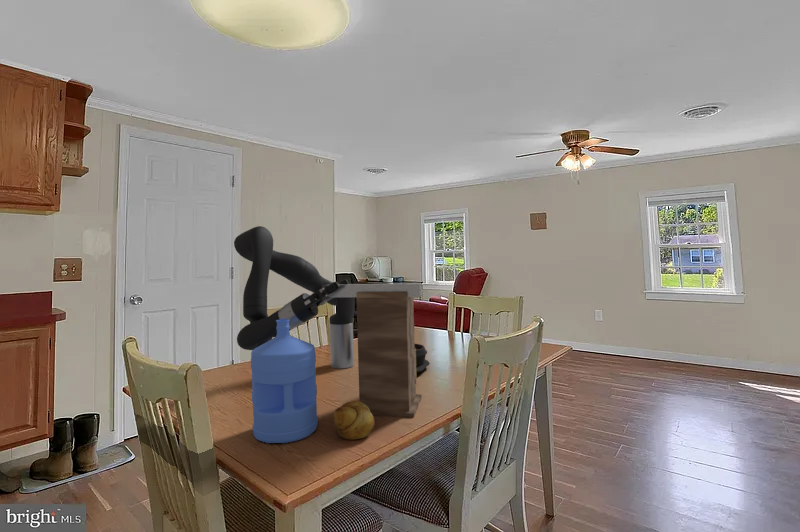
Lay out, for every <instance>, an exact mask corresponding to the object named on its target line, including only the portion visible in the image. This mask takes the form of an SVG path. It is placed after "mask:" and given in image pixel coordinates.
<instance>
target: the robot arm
mask: <svg viewBox="0 0 800 532" xmlns="http://www.w3.org/2000/svg"><path fill="white" fill-rule="evenodd" d="M233 246H234V248H235V251H236V252H237V253H238V254H239V256H241V257H242V258H243V259H245V260H248V261H249V262H251V263H252V264H251V268H250V271H249V276H248V278H247V281H246V283H245V285H244V289H243V295H242V296H243V298H242V315H243V317H244V318H245V319H246V320H247V321H249V323H248V324H247V325H244V327H242V328H241V329H240V331H239V332H238V334H237V336H236V343H237V345H238V347H240V348H241V349H243V350H246V351H253V350H254V349H255V348H257V347H259V346H260V345H262V344H264V343H266V342H268V341H270V340H271V339H273V338H275V337H276V335H277V329H276V327H277V322H276V320H279V319H289V326H290V328H289V332H290V331H292V330H294V329H295V328H298V327H299V326H301V325H303V324H305V323H306V322H308V321H309V320H311V319H313V318H314V317H316V316H317V315H318V314H319V307H320V306H323V305H325V304H326V303H327V304H328V305H330V306H335V307H336V312H335V314H334V313H333V314H332V315H331V316H329V344H330V345H329V348H330V350H329V351H330V367H331V368H333V369H348V368H352V367H354V365H355V357H354V356H355V355H354V354H355V353H354V316H355V310H356V309H355V305H356V304H355V303H356V300H355V298H356V297H331V298H326V297H328V294H329V295H330V294H331V293H333V292H334V291H336V290H338V289H339V288H340V286H339V285H338V284H350V283H349V281H348V280H347V279H343V280H342V281H341V282H338V281H330V280H328V279H327V278H324V277H323V276H322V275H321V274H320V272H319V271H318V268H316V266H315V265H313V264H312V263H311V262H309V261H308V260H306V259H304V258H302V257H300V256H298V255H294V254H290V253H285V252H279V251H276V250H274V237H273V234H272V233H271V231H270V230H269V229H268V228H266V227H265V226H259V225H257V226H255V227H252V228H250V229H248V230H245V231H244V232H242V233H240V234H239V235H237V236H236V237H235V238H234V241H233ZM270 271H271V272H274V273H275V274H277V275H279V276H281V277H283V278H285V279H287V280H288V281H290V282H292V283H293V284H294V285H295V284H296V286H299V287H301V288H302V289H305V290H307V291H308V292H311V294H308V293H306V292H305V293H304V292H303V293H302V294H300V295H297V296H296V297H295V298H293V299H292V300H291V301H289V302H287V303H285V304H284V305H283V306H282V307H280V308H279V309H278V310H276V311H274V312H273V313H271V314H270V315H268V282H269V274H270ZM326 284H330V285H329V286H327V287H325V288H322V285H326Z"/></svg>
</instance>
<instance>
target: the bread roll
mask: <svg viewBox="0 0 800 532" xmlns="http://www.w3.org/2000/svg"><path fill="white" fill-rule="evenodd" d="M332 418H333V421H334V424H335V428H336V432H337V434H338V435H339V437H341V438H343V439H345V440H350V441H351V440H354V441H355V440H358V439H364V438H367V437H368V436H369V435H370V434H371V433H372V432H373V430H374V427H375V417H374V415H372V413H371V412H370V409H369V408H368V406H367V405H365V404H364V403H362V402H360V401H359V400H351V401H346V402H345V403H343V404H342V405H341V406H339V407H337V408H336V409H335V410H334V412H333V416H332Z"/></svg>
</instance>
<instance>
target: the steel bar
mask: <svg viewBox="0 0 800 532" xmlns="http://www.w3.org/2000/svg"><path fill="white" fill-rule="evenodd" d="M329 285H330V284H326V285H322V288H325V287H327V286H329ZM338 285H339V286H340V288H339V289H338V290H336V291H334V292H333V293H331V294H330V295H329V294H328V297H326V298H331V297H355V298H357V296H356V292H407V297H413V298H421V297H422V282H421V283H420V282H417V283H415V282H413V283H412V282H411V283H408V282H407V283H403V282H402V283H349V284H338Z"/></svg>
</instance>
